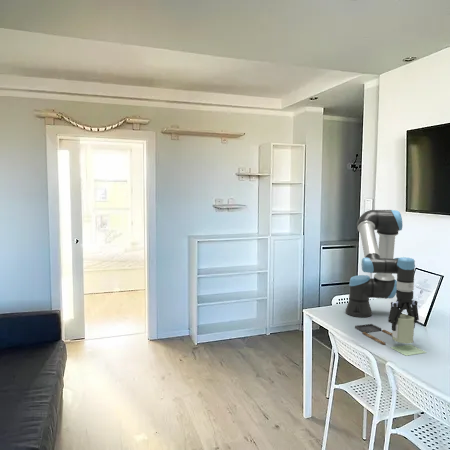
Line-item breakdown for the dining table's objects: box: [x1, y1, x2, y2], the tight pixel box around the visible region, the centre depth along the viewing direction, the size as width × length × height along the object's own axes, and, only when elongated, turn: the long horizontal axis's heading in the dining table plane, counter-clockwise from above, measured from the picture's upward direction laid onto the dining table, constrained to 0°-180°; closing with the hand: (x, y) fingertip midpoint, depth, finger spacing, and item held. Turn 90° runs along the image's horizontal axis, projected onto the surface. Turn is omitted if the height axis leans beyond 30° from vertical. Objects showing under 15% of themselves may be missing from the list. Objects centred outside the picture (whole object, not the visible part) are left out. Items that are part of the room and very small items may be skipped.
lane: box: [361, 329, 393, 346], centre depth 205 cm, size 16×14×1 cm
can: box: [392, 313, 415, 344], centre depth 191 cm, size 9×9×12 cm
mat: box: [390, 344, 428, 357], centre depth 189 cm, size 10×12×1 cm
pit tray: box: [354, 323, 382, 334], centre depth 217 cm, size 8×11×1 cm
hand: (402, 335), depth 192 cm, fingers closed on can, 9 cm apart
